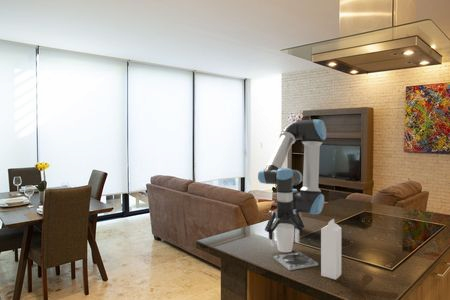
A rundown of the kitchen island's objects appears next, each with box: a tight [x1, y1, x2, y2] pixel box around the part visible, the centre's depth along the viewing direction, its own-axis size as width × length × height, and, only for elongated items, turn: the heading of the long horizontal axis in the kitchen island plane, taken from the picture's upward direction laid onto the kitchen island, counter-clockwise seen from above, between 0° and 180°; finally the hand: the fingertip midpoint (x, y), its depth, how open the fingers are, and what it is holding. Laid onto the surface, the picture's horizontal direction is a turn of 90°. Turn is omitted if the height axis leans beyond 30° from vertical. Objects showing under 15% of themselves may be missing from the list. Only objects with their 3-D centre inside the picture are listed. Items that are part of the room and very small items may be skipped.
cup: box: [275, 223, 295, 254], centre depth 156 cm, size 9×9×12 cm
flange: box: [273, 251, 319, 271], centre depth 142 cm, size 14×14×2 cm
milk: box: [320, 218, 342, 281], centre depth 127 cm, size 6×6×22 cm
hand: (284, 244), depth 156 cm, fingers open, 13 cm apart
